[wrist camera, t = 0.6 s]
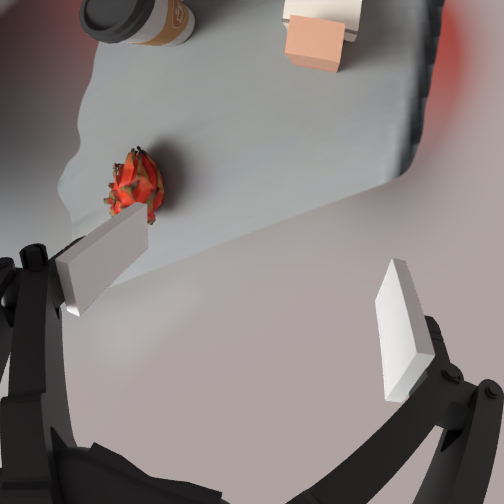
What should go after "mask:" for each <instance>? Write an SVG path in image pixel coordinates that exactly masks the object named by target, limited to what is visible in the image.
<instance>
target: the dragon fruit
mask: <svg viewBox="0 0 504 504" xmlns="http://www.w3.org/2000/svg"><path fill="white" fill-rule="evenodd" d="M137 149H138V150H139V153H137V152H138V151H134V148H133V149H132V150H131V152H130V153H128V155H127V158H126V162H125V164H116V163H114V165H113V169H115V170H114V171H113V176H114V179H115V183H109V185H108V186H109V187H110V188H111V190H112V191H111V192H110V194H109V197H110V198H107V199H105V198H104V203H105V204H111V205H112V206H111V207H110V214H111V216H112V217H114V216H115V215H117V214H118V213H120V212H121V211H123V210H124V209H126V208H127V207H129V206H130V205H132V204H133V203H135V202H139V203H144V204H147V220H148V221H147V223H148V224H150V225H152V224H153V223H154V222H155V214H154V211H155V210H156V209H157V208H158V207H159V206H160V205H162V204H163V202H164V200H165V194H164V189H163V182H162V178H161V172H160V170H159V167H158V165H157V162H155V161H153V160H152V159H151V158H150V156H149V155H148V154H147V153H146V152H145V151H144V150H141V148H140V147H139V146H137ZM117 167H118V170H117ZM117 171H118V175H117Z"/></svg>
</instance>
